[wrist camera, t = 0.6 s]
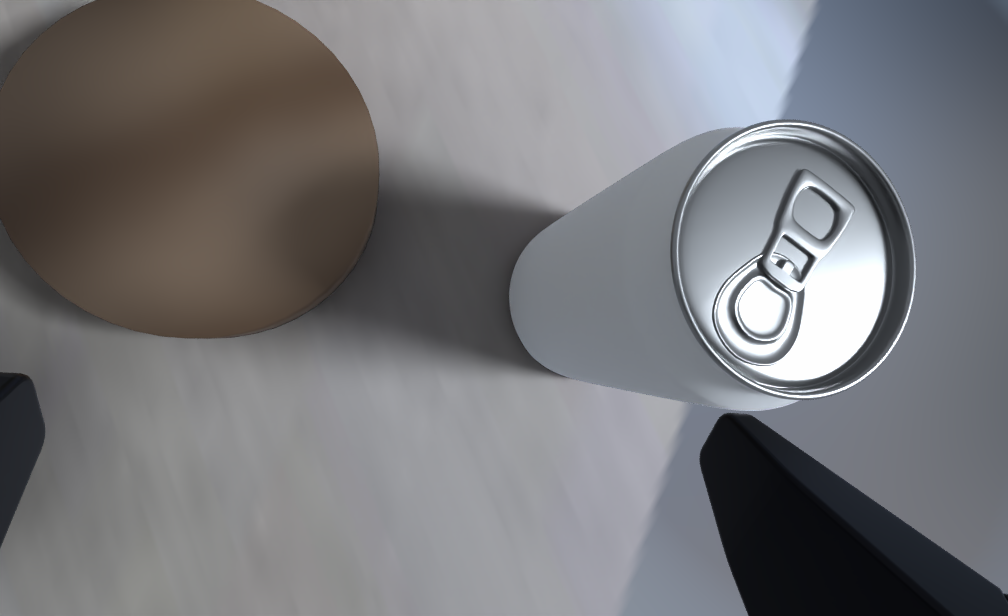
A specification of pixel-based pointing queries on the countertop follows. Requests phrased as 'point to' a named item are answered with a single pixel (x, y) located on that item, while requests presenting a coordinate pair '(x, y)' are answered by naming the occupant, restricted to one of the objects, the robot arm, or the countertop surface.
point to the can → (726, 272)
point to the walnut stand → (186, 165)
